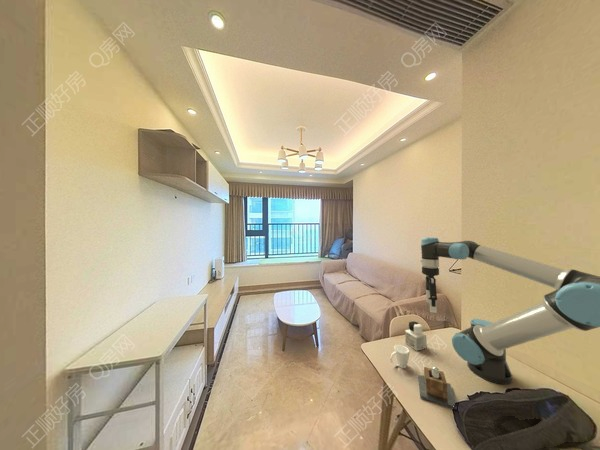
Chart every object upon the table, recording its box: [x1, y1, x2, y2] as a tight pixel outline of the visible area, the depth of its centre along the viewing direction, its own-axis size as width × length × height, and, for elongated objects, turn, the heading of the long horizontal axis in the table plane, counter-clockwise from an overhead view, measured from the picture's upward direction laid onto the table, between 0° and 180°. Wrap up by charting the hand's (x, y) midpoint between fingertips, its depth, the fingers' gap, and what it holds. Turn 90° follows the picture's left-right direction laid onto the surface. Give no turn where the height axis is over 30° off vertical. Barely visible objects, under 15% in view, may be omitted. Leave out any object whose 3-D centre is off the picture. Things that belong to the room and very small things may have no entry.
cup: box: [389, 344, 410, 369], centre depth 96 cm, size 7×10×8 cm
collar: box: [423, 366, 448, 399], centre depth 80 cm, size 7×7×6 cm
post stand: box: [417, 366, 457, 410], centre depth 80 cm, size 12×12×10 cm
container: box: [404, 320, 428, 352], centre depth 111 cm, size 8×8×13 cm
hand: (431, 307), depth 101 cm, fingers open, 13 cm apart
